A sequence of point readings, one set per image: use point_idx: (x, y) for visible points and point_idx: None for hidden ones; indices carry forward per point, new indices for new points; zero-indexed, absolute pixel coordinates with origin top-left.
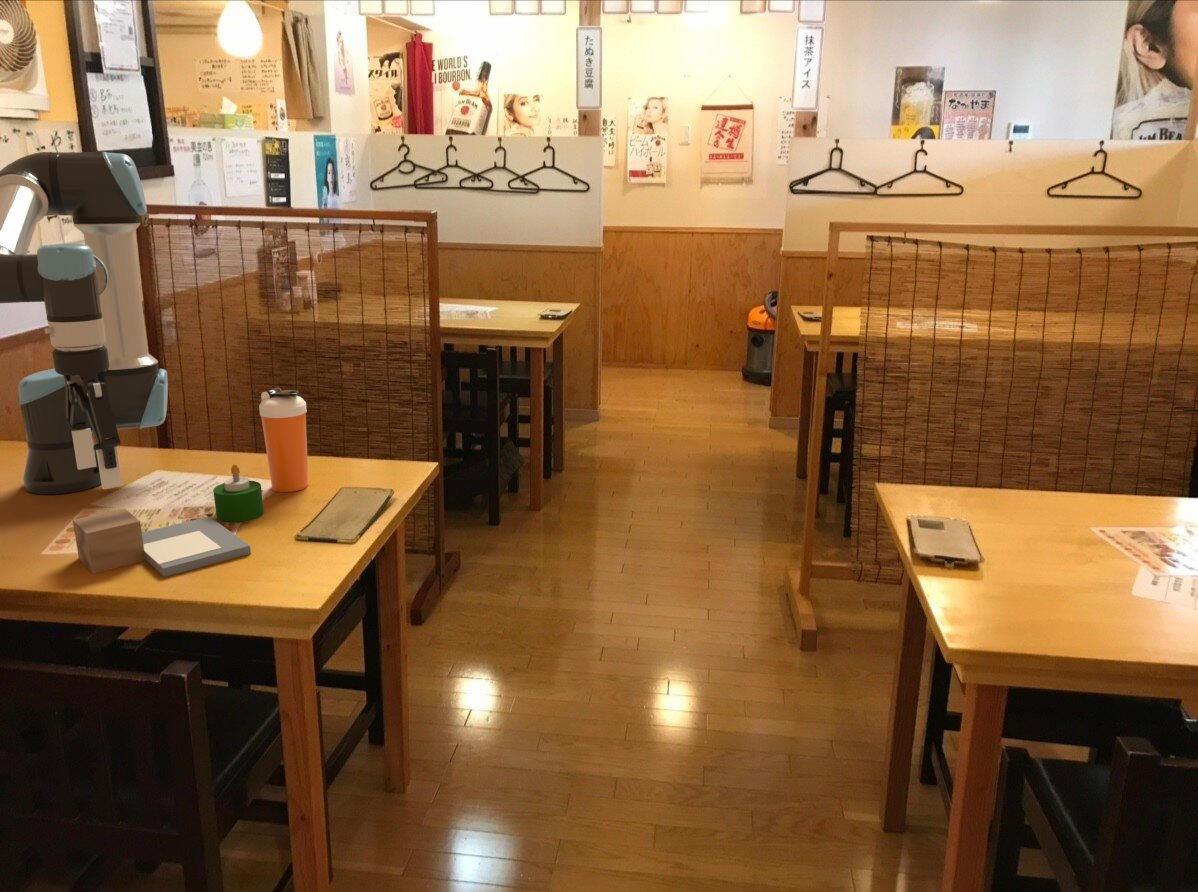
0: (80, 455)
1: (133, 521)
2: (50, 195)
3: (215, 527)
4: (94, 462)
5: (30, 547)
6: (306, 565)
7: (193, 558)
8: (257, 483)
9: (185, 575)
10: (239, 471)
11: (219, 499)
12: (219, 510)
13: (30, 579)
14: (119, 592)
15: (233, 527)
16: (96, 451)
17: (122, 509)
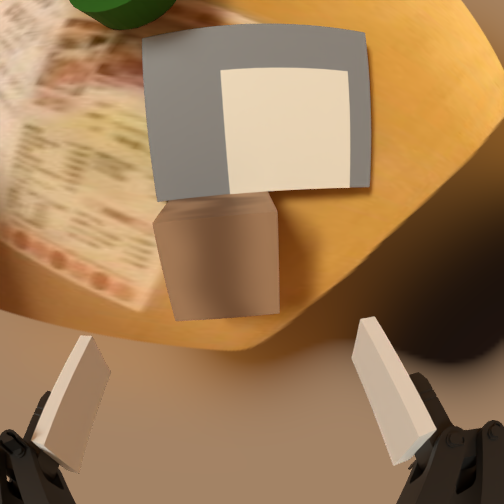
0: (94, 398)
1: (268, 224)
2: None
3: (219, 38)
4: (88, 348)
5: (108, 317)
6: (438, 20)
7: (363, 130)
8: None
9: (377, 154)
10: None
11: (134, 5)
12: (138, 16)
13: (234, 333)
14: (366, 250)
15: (196, 9)
16: (390, 455)
17: (159, 229)
